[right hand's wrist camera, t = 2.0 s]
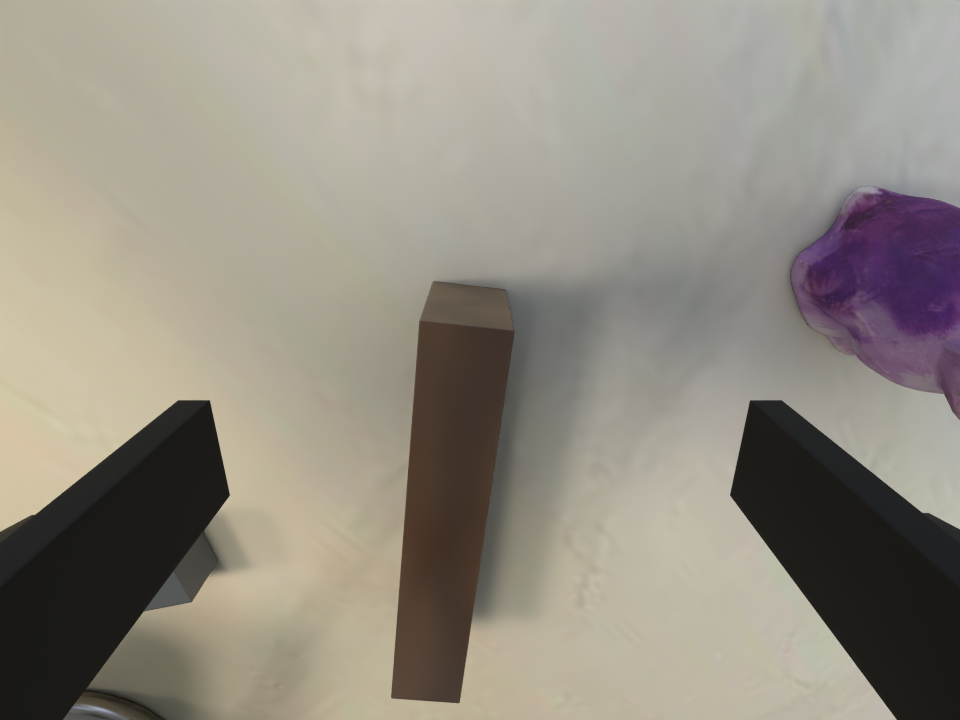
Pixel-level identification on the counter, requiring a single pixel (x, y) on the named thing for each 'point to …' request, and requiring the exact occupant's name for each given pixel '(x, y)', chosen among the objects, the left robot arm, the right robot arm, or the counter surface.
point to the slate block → (186, 576)
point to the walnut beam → (449, 483)
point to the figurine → (889, 288)
